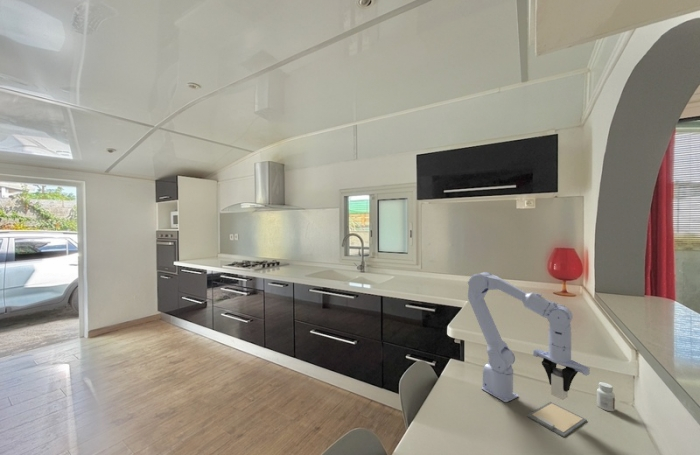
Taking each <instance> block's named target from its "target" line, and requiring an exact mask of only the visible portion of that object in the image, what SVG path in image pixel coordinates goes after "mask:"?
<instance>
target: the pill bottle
mask: <svg viewBox="0 0 700 455" xmlns="http://www.w3.org/2000/svg"><path fill="white" fill-rule="evenodd" d="M613 391H614V388H613V385H611V384H610V383H607V382H603V381H600V382H598V388H597V389H596V406H598V408H600V409H602V410H604V411H608V412H614V411H615V409H616V408H615V406H616V404H615V402H616V399H615V397H616V396H615V393H614V392H613Z"/></svg>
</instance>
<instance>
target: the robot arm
mask: <svg viewBox="0 0 700 455" xmlns="http://www.w3.org/2000/svg"><path fill="white" fill-rule="evenodd" d="M467 284H468V292H467V298H468V301H469V303H470V305H471V308H472V311H473V313H474V316H475V317H476V320H477V323H478V325H479V328H480V330H481V333H482V335H483V337H484V339H485V342H486V346H487V347H486V353H487V355H488V363H486V364H485V365H484V366H483V369H482V387H481V390H483V391H485V392H487V393H488V394H490V395H491V396H493V397H495V398H496V399H499V400H501V401H502V402H504V403H508V402H511V401H513V400H514V399H516V398H518V397H519V394H517V393H516V392H514V368H513V364H514V363H515V362H516V356H515V353H514V352H513V351H512V350H511V349H510V348H509V346H508V344H507V343H506V342H505V341H504V340H503V338H502V337H501V335H500V333H499V330H498V328H497V325H496V324H495V321H494V318H493V316H492V314H491V312H490V310H489V308H488V306H487V303H486V301H485V296H486V294H487V292H488V291H490V290H492V291H493V290H496V291H498V290H499V291H501V292H503V293H505V294H507V295H508V296H511V297H513V298H514V299H516V300H519V301H521V302H522V303H523V306H524V307H525V308H527V309H528V310H530V311H532V312H533V313H535V314H537V315H539V316H540V317H543V318H546V319H547V321H548V322H549V328H548V351H545V350H542V349H541V350H540V349H537V348H535V349H533V350H532V351H533V353H532V354H533V355H532V356H534V357H537V358H541V359H542V361H541V365H542V367H543V368H544V371H545V374H546V376H547V378H548V381H549V385H550V386H551V373H553V368H557V365H559V366H562V367H564V368H561V369H562V373H563V379H564V384H563V388H564V391H566V392H567V391H568V392H569V391H570V389H571V388H570V387H571V386H572V382H573V380H574V378H575V377H576V376H577V374H578V373H581V374H582V375H584V376H589V375H590V374H591V373H590V367H588V366H586V365H584V364H581V363H579V362H578V361H575V360H573V359H572V331H571V330H572V326H571V322H572V320H573V313H572V311H571V310H570V308H567V307H566V306H565V305H563V304H558V302H557V301H554V302H553V301H551V300H549V299H547V298H545V297H543V296H542V293H539V292H526V291H524V290H522V289H520V288H519V287H517V286H516V285H514V284H511V283H510V282H508V281H506V280H504V279H503V278H501V277H500V276H497V275H495V274H492V273H491V272H489V271H483V272H480V273H474V274H472V275H471V276H470V277H469V279H468V281H467Z"/></svg>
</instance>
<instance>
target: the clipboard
mask: <svg viewBox="0 0 700 455" xmlns="http://www.w3.org/2000/svg"><path fill="white" fill-rule="evenodd" d="M526 417H528V418H529V419H531V420H532V421H535V422H536V423H538V424H539V425H541V426H543V427H544V428H546V429H548V430H550V431H552V432H554V433H555V434H557V435H559V436H561V437H563V438H565V437H567V435H569V434H570V433H572V432H574V431H575V430H576V429H578V428H579V427H580V426H582V425H583V424H585V423H586V422H587V421H588V419H587V418H584V417H582V416H580V415H578V414H576V413H574V412H572V411H570V410H568V409H566V408H564V407H562V406H560V405H558V404H556V403H554V402H552V401H550V402H548V403H546V404H543V405H542V406H540V407H539V408H537V409H535V410H534V411H531V412H530V413H527V414H526Z"/></svg>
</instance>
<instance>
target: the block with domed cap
mask: <svg viewBox="0 0 700 455" xmlns="http://www.w3.org/2000/svg"><path fill="white" fill-rule="evenodd" d="M562 369H563V368H559V367H556V368H553V373H551V385H550V395H551V396H554V397H556V398H559V399H560V400H562V401H563V400H565V399H566V398H568V397H569V396H568V393H569V391H567V392H566V391H564V388H563V384H564V379H563V373H562Z"/></svg>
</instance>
